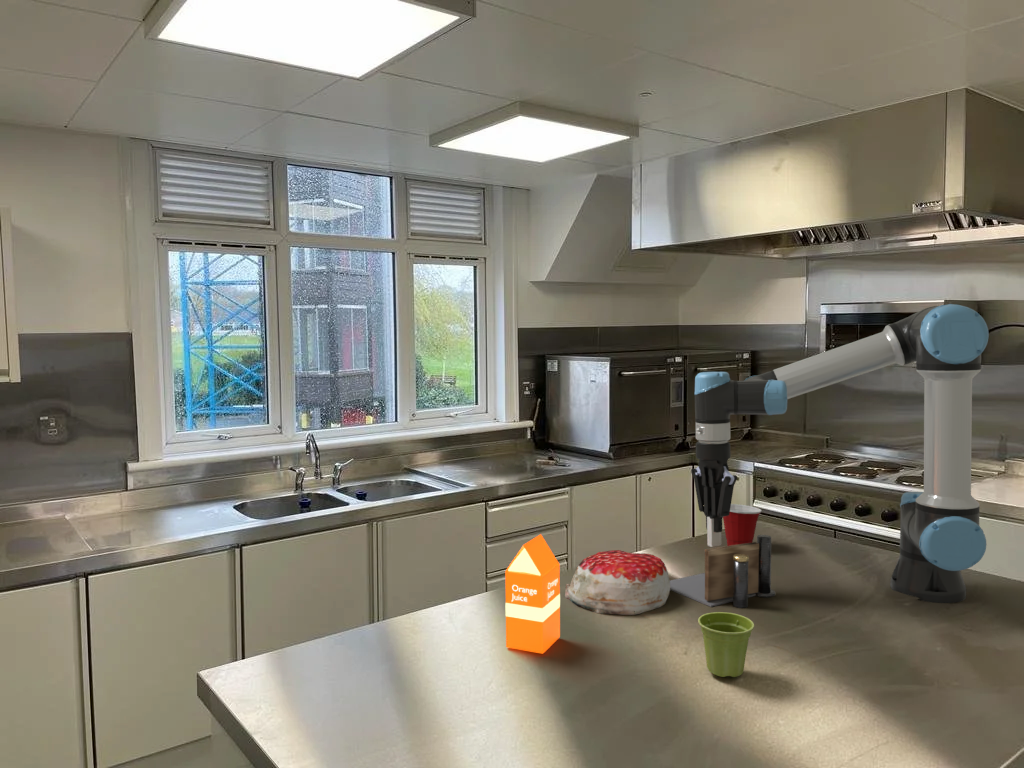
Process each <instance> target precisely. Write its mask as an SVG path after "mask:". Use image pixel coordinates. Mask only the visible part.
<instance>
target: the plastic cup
mask: <svg viewBox="0 0 1024 768" xmlns="http://www.w3.org/2000/svg"><path fill="white" fill-rule="evenodd" d="M762 511H763V510H762V509H760V508H759V507H755V506H751V505H745V504H739V503H738V504H737V503H731V507H730V513H729V516H724V517H723V518H722V522H723V526H724V533H725V540H726V546H731V545H738V544H745V543H752V542H753V541H754V538H755V532H756V527H757V524H758V523H757V522H758V519H759V516H760V514H761V513H762Z"/></svg>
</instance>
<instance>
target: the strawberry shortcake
mask: <svg viewBox="0 0 1024 768" xmlns="http://www.w3.org/2000/svg"><path fill="white" fill-rule="evenodd" d="M668 571H669V570H668V569H667V566H666V564H665V562H664V561H663V560H662V558H661V557H658V556H656V555H654V554H651V553H643V552H642V553H639V552H638V553H637V552H627V551H624V550H621V549H617V550H605V551H598V552H596V553H595V554H592V555H589V556H587V557H586V558H584V559H582V560H581V561H580V562H579V564H578V566H577V567H576V569H575V571H574V573H573V576H572V579H571V582H570V584H569V583H566V584H565V590H564V592H565V593H564V598H565V599H568V600H570V602H571V603H572V604H573V605H576V606H578V607H581V608H583V609H586V610H589V611H592V613H596V614H601V615H603V614H609V615H622V616H623V615H627V616H628V615H630V616H631V615H632V616H634V615H640V614H642V613H646V612H649V611H652V610H654V609H655V610H656V609H658V608H662V607H663V606H664V605H666V603H667V600H668V598H669V595H670V591H671V590H670V577H669V572H668Z"/></svg>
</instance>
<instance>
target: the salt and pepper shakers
mask: <svg viewBox="0 0 1024 768" xmlns="http://www.w3.org/2000/svg"><path fill="white" fill-rule="evenodd" d="M756 543H759V571H758V592H757V593H755V594H756V597H759V598H773V597H775V596H776V591H775V590H773V589H772V588H771V587H772V585H771V582H772V581H771V578H772V577H771V576H772V536H771V535H769V534H758V535H756ZM733 560H734V579H733V601H732V602H733V603H732V604H733V605H732V606H733V607H735V608H739V609H746V608H748V607H749V597H748V561H749V556H748V555H744V554H735V555H733Z"/></svg>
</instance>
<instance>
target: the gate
mask: <svg viewBox="0 0 1024 768" xmlns="http://www.w3.org/2000/svg"><path fill="white" fill-rule="evenodd" d="M735 554H744V555H748V556H749V561H748V594H751V593H757V592H758V571H759V543H757V541H756V542H755V541H754V542H752V543H745V544H738V545H731V546H727V545H724V546H716V547H710V548H705V549H704V573H705V600H707V601H711V600H717V599H722V598H728V597H733V579H734V560H733V555H735Z"/></svg>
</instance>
